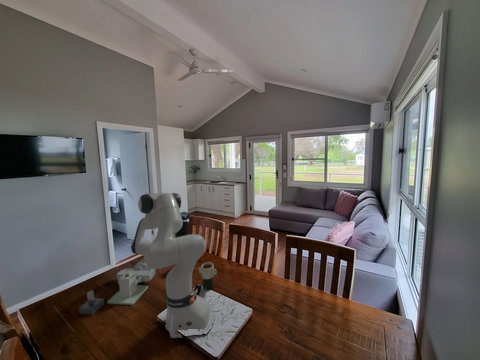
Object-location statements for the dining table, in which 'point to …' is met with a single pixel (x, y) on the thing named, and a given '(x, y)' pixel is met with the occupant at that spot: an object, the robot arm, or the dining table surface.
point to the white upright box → (127, 285)
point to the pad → (128, 300)
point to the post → (91, 304)
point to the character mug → (207, 274)
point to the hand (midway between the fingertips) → (126, 283)
